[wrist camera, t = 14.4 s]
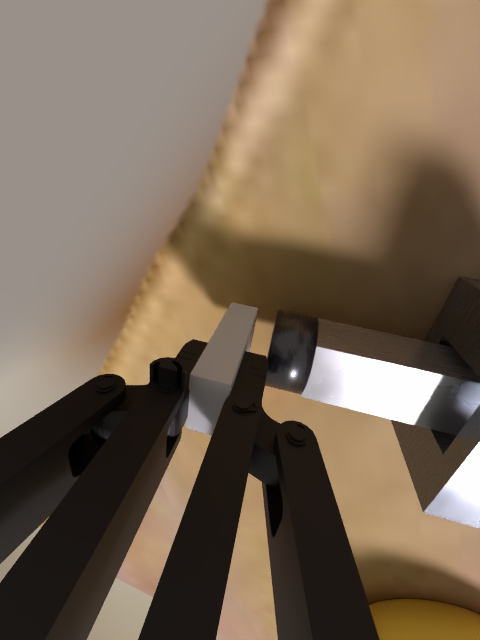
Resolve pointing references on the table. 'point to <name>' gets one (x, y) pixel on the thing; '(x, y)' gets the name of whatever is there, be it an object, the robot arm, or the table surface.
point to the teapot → (424, 620)
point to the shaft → (372, 372)
